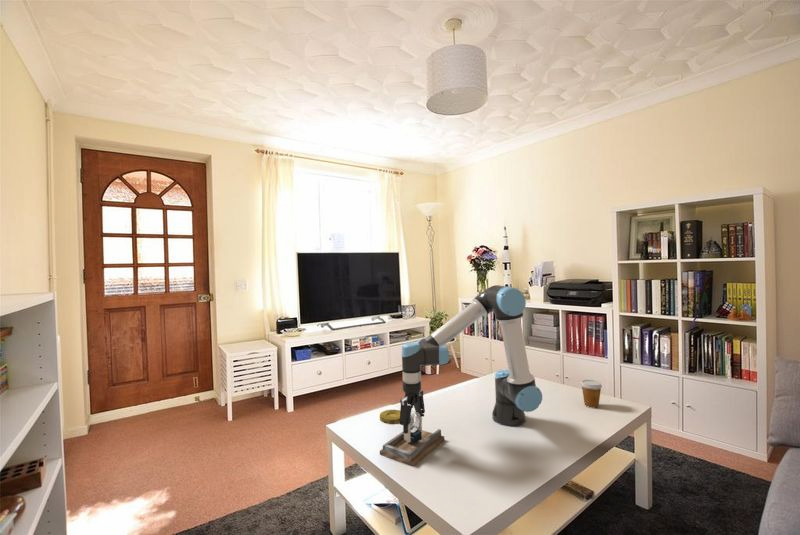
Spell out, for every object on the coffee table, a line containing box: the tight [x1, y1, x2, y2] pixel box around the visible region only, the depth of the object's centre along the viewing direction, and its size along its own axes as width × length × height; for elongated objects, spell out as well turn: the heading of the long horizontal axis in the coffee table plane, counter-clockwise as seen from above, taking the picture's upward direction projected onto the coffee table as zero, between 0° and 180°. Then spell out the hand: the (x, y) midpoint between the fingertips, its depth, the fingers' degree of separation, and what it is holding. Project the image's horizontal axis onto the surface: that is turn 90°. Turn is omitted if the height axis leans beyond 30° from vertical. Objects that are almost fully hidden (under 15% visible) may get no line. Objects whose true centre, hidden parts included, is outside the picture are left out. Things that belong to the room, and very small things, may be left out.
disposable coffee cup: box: [580, 379, 603, 408], centre depth 191 cm, size 10×10×12 cm
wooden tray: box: [379, 423, 445, 467], centre depth 154 cm, size 16×24×4 cm, turn 145°
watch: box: [409, 410, 422, 443], centre depth 155 cm, size 6×8×11 cm
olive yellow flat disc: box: [379, 409, 400, 424], centre depth 183 cm, size 12×12×2 cm
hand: (413, 435), depth 155 cm, fingers closed on watch, 8 cm apart
